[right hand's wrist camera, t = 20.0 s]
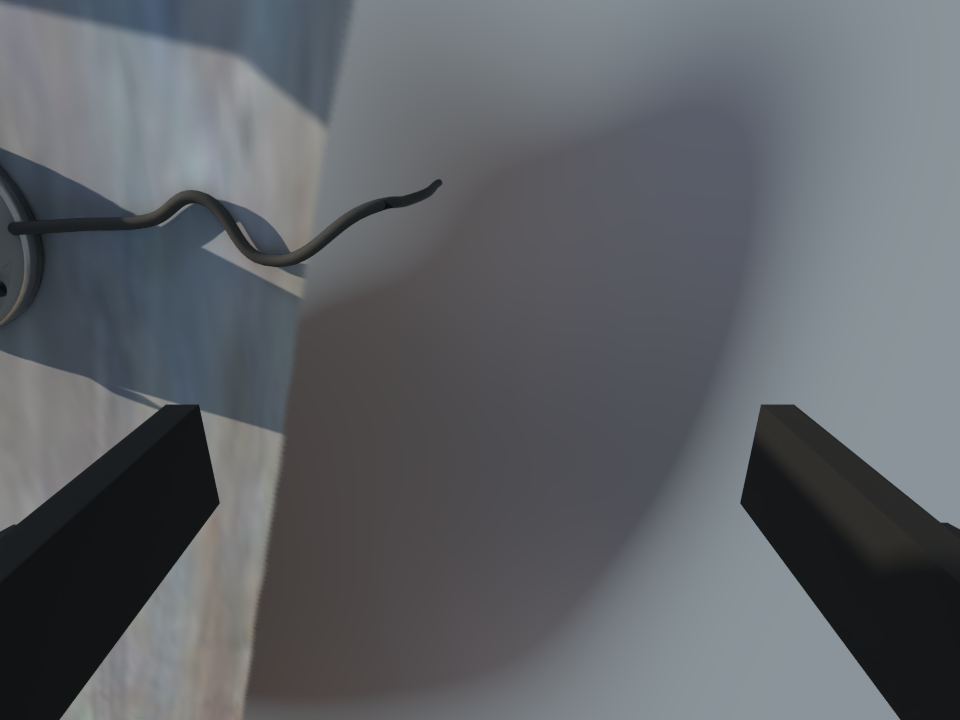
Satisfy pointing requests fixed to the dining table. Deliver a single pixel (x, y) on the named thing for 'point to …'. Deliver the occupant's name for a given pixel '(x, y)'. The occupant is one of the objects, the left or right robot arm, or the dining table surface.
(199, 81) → the dining table surface
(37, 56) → the dining table surface
